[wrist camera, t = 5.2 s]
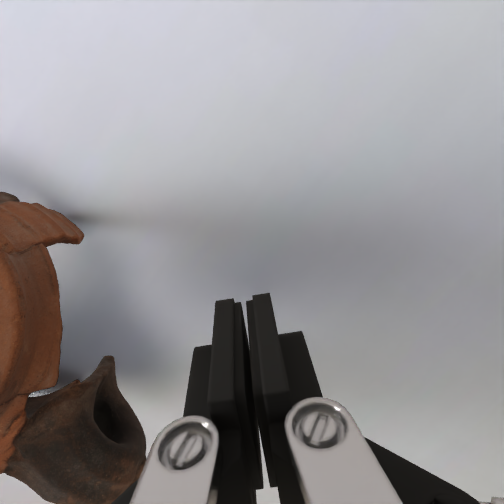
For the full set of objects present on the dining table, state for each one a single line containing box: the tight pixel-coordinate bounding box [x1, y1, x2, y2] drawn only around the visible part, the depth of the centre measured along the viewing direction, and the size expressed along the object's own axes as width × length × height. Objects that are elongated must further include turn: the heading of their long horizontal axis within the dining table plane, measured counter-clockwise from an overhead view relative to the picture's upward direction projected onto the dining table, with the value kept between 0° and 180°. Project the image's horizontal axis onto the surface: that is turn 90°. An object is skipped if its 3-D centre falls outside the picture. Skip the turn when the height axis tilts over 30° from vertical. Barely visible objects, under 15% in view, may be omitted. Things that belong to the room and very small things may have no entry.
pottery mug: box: [0, 192, 147, 504], centre depth 12 cm, size 12×10×8 cm
